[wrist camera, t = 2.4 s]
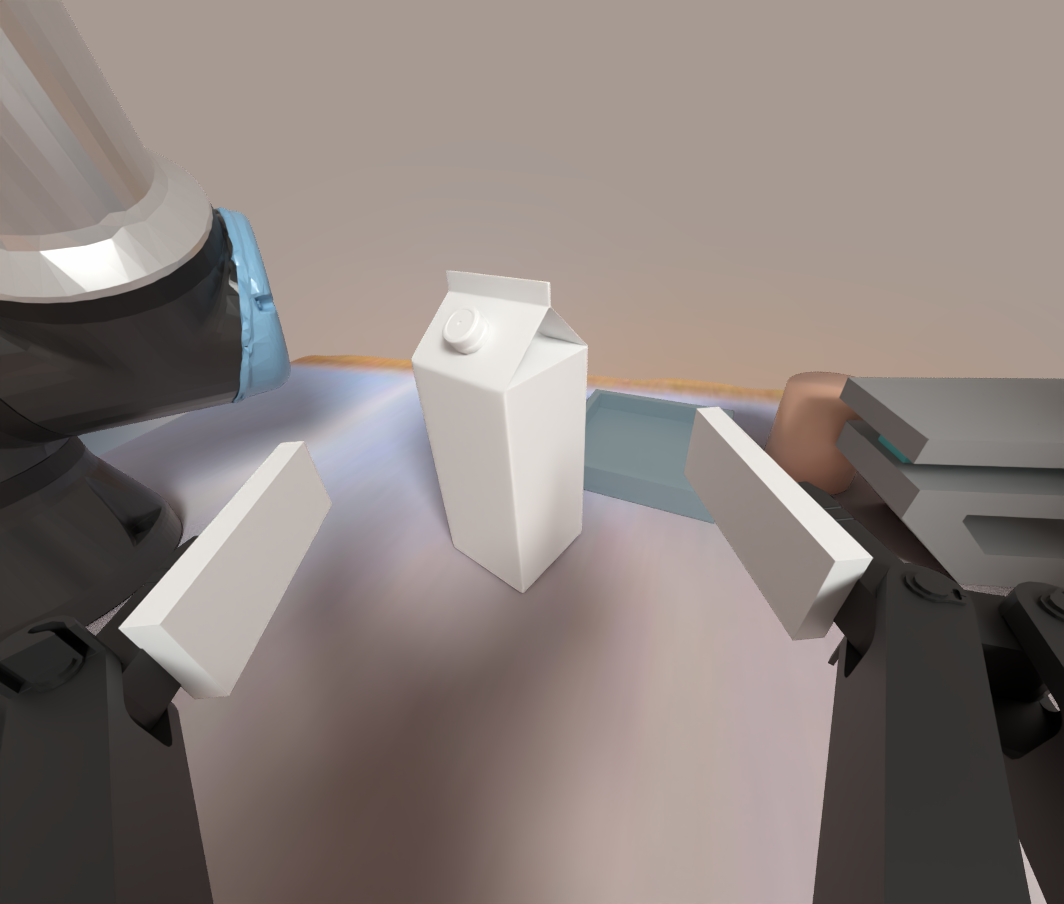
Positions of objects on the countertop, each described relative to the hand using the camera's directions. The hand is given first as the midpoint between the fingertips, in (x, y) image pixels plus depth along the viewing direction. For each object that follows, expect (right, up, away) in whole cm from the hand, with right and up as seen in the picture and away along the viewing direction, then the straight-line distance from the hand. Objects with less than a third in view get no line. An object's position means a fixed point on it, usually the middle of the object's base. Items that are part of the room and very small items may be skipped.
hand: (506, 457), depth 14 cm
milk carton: (0, -7, +17) cm, 18 cm away
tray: (+12, 0, +25) cm, 28 cm away
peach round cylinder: (+26, -1, +22) cm, 34 cm away
